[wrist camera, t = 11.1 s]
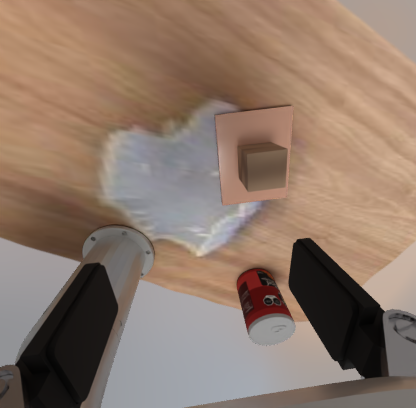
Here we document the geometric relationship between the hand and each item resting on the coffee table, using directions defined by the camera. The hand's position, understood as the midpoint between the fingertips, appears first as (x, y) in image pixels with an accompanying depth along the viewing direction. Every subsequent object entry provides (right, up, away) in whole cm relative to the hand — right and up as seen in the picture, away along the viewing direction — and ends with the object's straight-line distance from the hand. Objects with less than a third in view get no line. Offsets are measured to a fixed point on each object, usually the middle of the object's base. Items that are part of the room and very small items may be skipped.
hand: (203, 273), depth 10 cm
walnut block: (+7, +10, +21) cm, 24 cm away
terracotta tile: (+7, +11, +22) cm, 25 cm away
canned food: (+10, -13, +33) cm, 37 cm away
